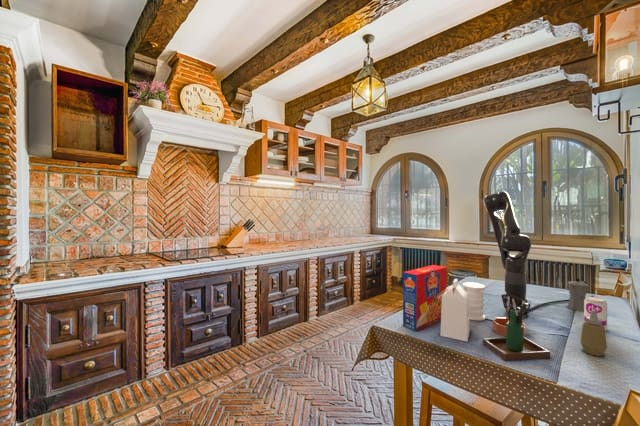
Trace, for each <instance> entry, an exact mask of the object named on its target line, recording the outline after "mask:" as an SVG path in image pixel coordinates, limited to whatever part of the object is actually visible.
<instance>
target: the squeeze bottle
mask: <svg viewBox="0 0 640 426" xmlns="http://www.w3.org/2000/svg"><path fill="white" fill-rule="evenodd" d="M586 321H587V322H584V321H583V322H582V328H581V334H580V344H581V347H582V349H583V351H584V352H585V353H586V354H589V355H592V356H595V357H604V354H605V353H606V351H607V348H608V343H607V334H606V330H605V327H604V326H603V325H601V324H602V320H600V319H598V316H597V312H596V310H592V312H591V315H590V317H587V318H586Z"/></svg>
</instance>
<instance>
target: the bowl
mask: <svg viewBox="0 0 640 426" xmlns="http://www.w3.org/2000/svg"><path fill="white" fill-rule="evenodd" d="M508 321H509V319H508V317H503V316H502V317H499V316H498V317H493V319H492V330H493V331H494V332H495V333H496V334H498V335H501V336H503V337H506V323H507V322H508ZM522 325H523V326H524V329H523V336H524V337H525V338H526V335H527V333H526V332H527V326H526V324H525V323H524V322H522Z"/></svg>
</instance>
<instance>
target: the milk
mask: <svg viewBox="0 0 640 426" xmlns="http://www.w3.org/2000/svg"><path fill="white" fill-rule="evenodd" d="M445 290H446V291H445V292H444V294H443V296H442V309H441V320H440V333H439V334H440V335H439V336H440V337H445V338H448V339H449V338H450V339H454V340H458V341H462V342H469V337H470V332H471V329H470V319H469V301H468V294H467V293H466V291H465V290H464V288H463V287H462V286H461V285H460V284H459V280H458V278H454V279H453V281H452V285H449V286H448V287H447V288H446V289H445Z"/></svg>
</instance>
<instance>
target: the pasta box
mask: <svg viewBox="0 0 640 426" xmlns="http://www.w3.org/2000/svg"><path fill="white" fill-rule="evenodd" d="M447 277H448V275H447V266H442V265H438V264H437V265H436V264H431V265H426V266H423V267H419V268H414V269H411V270H410V269H409V270H405V271H403V272H402V326H403V327H405V328H408V329H411V330H413V331H415V332H418V331H420V330H422V329H424V328H427V327H429V326H431V325H433V324H435V323H438V322H439V321H441V309H442V296H443V294H444V292H445V291H446V290H445V289H446V288H447V284H448V283H447Z"/></svg>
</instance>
